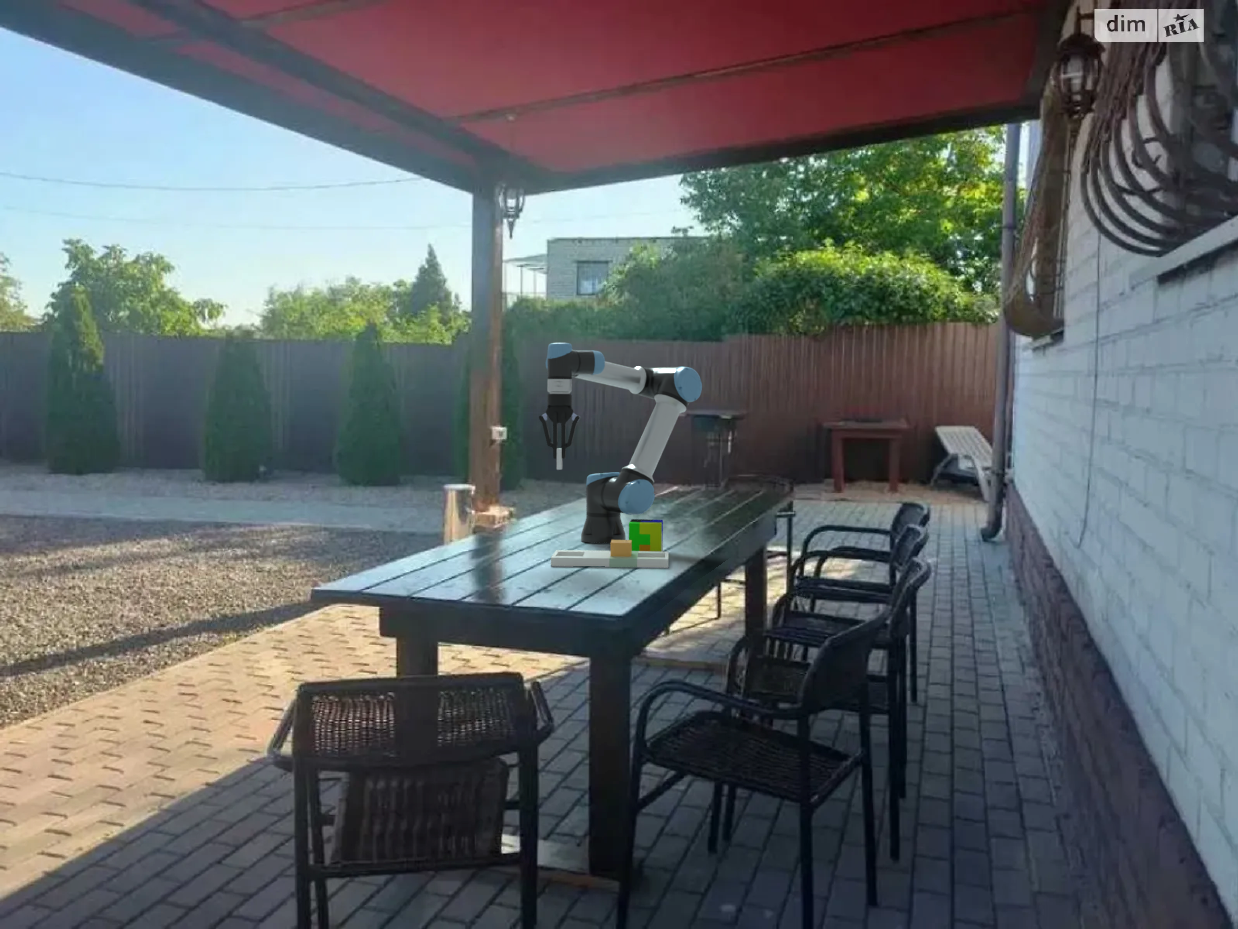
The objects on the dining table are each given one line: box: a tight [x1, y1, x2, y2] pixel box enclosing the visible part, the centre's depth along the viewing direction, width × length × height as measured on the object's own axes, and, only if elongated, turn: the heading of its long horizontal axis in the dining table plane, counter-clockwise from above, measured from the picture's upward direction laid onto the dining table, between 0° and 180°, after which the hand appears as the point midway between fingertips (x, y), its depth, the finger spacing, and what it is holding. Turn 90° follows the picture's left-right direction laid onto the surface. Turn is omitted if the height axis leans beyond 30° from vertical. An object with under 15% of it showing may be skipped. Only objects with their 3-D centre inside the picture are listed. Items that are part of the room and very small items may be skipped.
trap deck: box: [550, 549, 669, 569], centre depth 298 cm, size 14×34×2 cm, turn 87°
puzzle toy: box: [628, 518, 664, 552], centre depth 317 cm, size 10×10×10 cm
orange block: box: [609, 539, 632, 557], centre depth 298 cm, size 6×6×4 cm
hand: (559, 469), depth 313 cm, fingers closed
